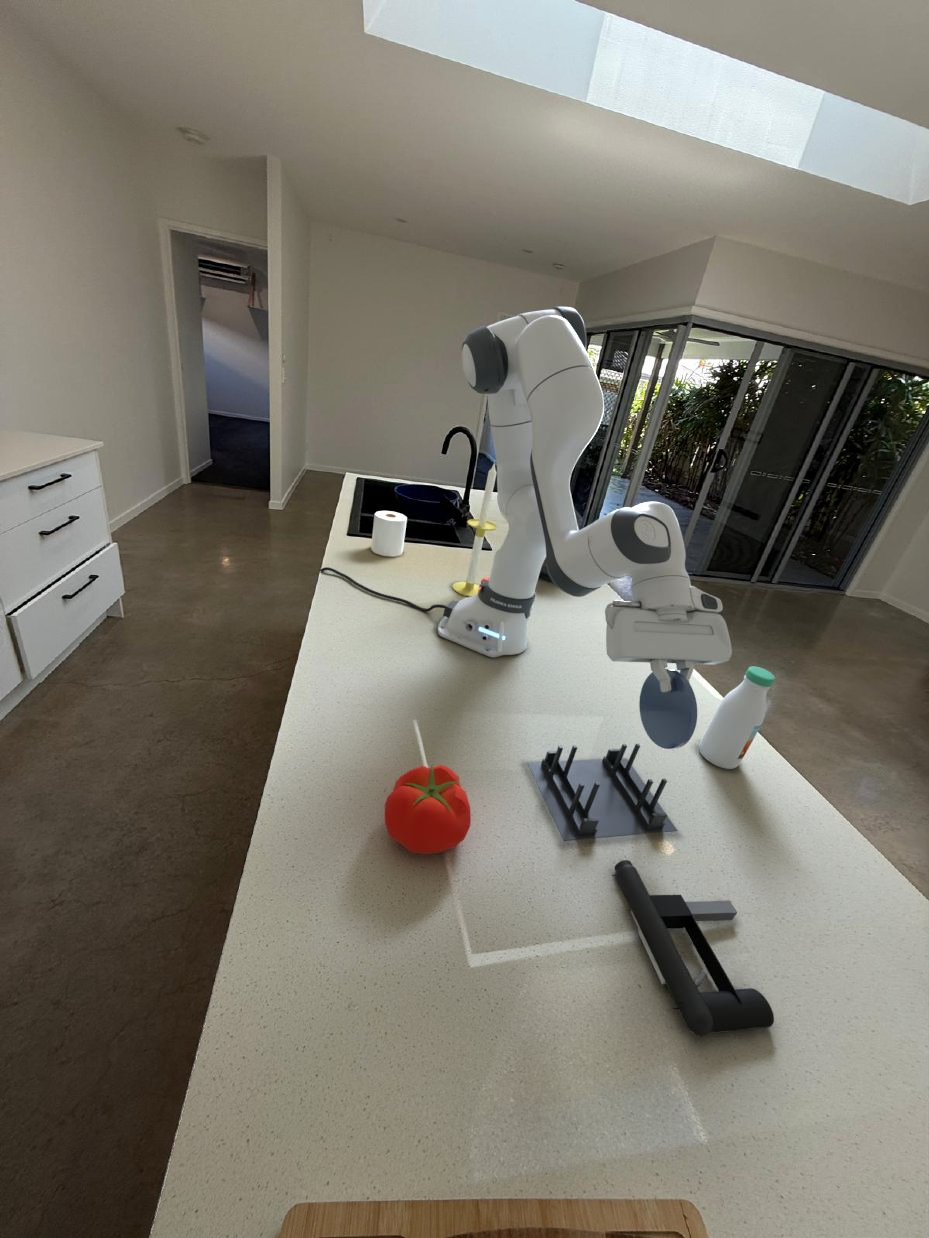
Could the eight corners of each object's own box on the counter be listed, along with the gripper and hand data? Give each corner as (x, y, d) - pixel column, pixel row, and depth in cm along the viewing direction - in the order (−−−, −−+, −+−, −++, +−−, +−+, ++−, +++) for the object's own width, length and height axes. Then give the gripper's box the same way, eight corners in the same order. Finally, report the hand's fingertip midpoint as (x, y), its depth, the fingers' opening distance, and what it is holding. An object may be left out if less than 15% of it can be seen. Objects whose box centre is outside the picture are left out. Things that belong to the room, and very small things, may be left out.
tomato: (435, 887, 65) (446, 842, 61) (362, 833, 70) (368, 789, 66) (484, 825, 75) (496, 783, 71) (417, 782, 80) (425, 741, 76)
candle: (468, 580, 157) (493, 457, 141) (492, 593, 152) (520, 467, 135) (445, 585, 151) (468, 457, 134) (468, 599, 145) (495, 467, 128)
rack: (525, 765, 88) (536, 730, 85) (625, 761, 94) (639, 728, 90) (562, 844, 75) (577, 806, 71) (675, 833, 80) (694, 798, 77)
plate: (630, 712, 85) (656, 653, 79) (635, 712, 85) (662, 653, 79) (670, 766, 75) (703, 702, 69) (676, 766, 75) (709, 702, 69)
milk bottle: (721, 774, 96) (769, 687, 87) (689, 746, 102) (730, 663, 93) (746, 765, 99) (794, 681, 90) (714, 739, 105) (756, 658, 96)
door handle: (707, 858, 74) (610, 858, 70) (812, 1017, 57) (691, 1029, 52) (697, 873, 75) (601, 874, 71) (796, 1032, 58) (678, 1045, 54)
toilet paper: (366, 552, 163) (370, 516, 157) (377, 543, 172) (380, 508, 167) (397, 559, 162) (401, 523, 157) (405, 549, 171) (410, 515, 166)
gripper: (615, 592, 73) (627, 687, 69) (730, 601, 79) (747, 689, 75) (593, 605, 79) (602, 694, 75) (701, 612, 85) (715, 695, 81)
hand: (676, 692), depth 75 cm, fingers closed on plate, 1 cm apart
